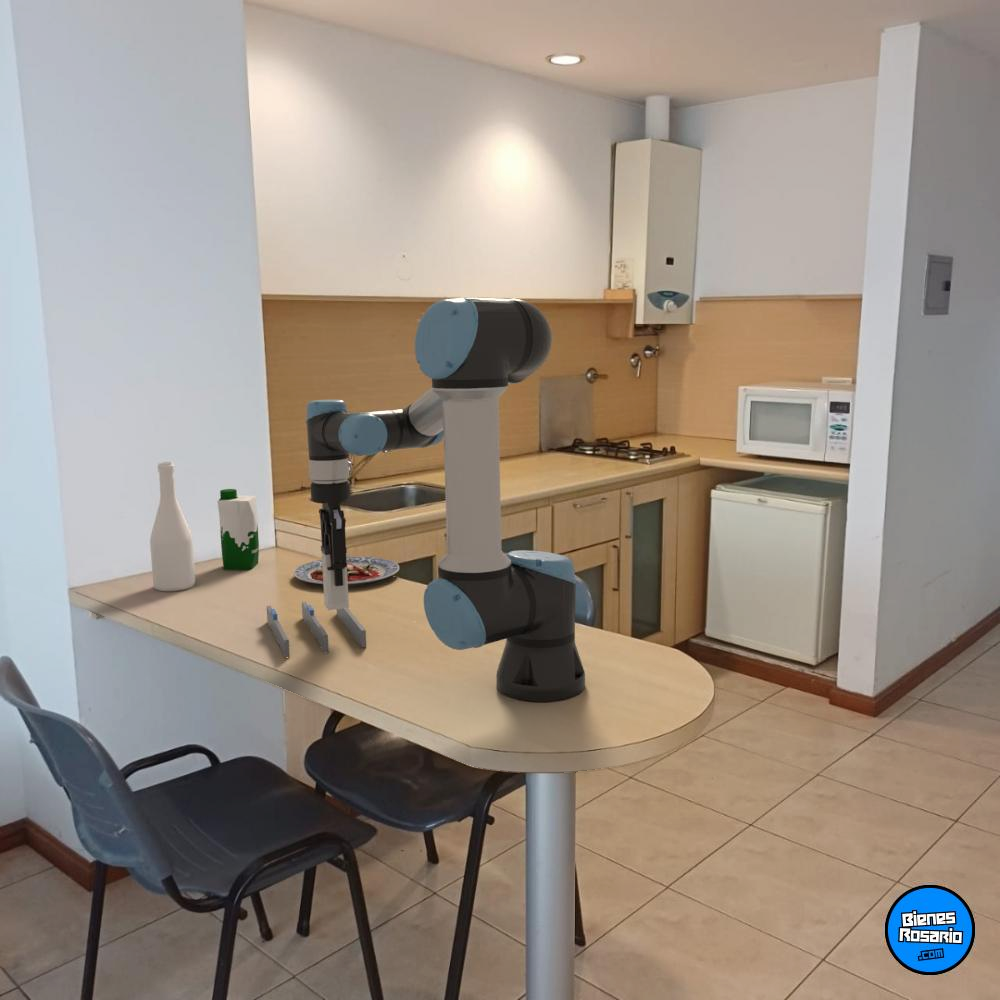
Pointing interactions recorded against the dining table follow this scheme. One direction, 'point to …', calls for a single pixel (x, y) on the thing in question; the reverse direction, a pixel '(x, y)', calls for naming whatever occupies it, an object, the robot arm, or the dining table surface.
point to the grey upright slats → (316, 627)
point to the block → (326, 582)
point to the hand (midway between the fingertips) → (336, 598)
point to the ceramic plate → (350, 570)
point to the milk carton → (238, 530)
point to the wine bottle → (171, 539)
